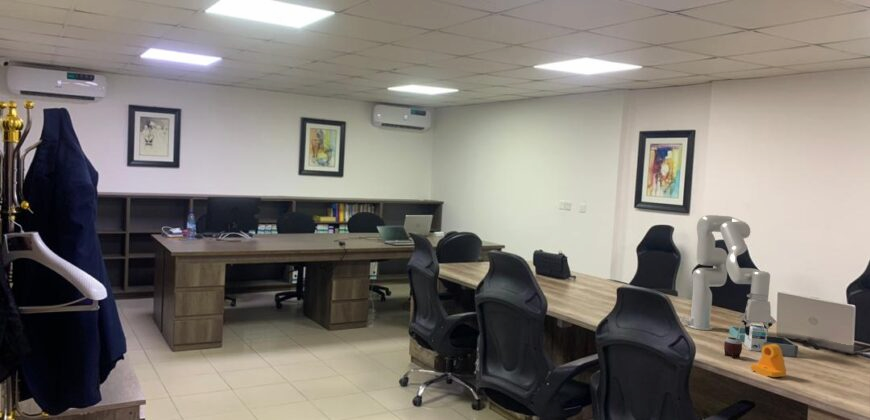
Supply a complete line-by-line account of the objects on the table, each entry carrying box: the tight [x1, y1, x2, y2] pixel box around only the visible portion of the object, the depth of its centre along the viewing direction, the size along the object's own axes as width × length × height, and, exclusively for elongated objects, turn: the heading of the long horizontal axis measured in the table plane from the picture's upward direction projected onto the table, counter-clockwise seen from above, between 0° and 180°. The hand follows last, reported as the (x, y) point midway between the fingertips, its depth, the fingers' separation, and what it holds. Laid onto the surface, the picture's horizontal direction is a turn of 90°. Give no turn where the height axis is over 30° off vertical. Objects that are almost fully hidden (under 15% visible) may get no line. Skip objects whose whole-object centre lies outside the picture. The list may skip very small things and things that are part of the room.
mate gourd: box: [723, 322, 744, 359], centre depth 275 cm, size 8×8×15 cm
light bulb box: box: [743, 322, 769, 353], centre depth 292 cm, size 11×7×11 cm, turn 169°
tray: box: [728, 325, 769, 343], centre depth 311 cm, size 14×18×4 cm
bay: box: [764, 335, 799, 358], centre depth 290 cm, size 14×16×5 cm
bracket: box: [750, 344, 787, 378], centre depth 251 cm, size 11×7×12 cm, turn 25°
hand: (755, 335), depth 292 cm, fingers closed on light bulb box, 6 cm apart
